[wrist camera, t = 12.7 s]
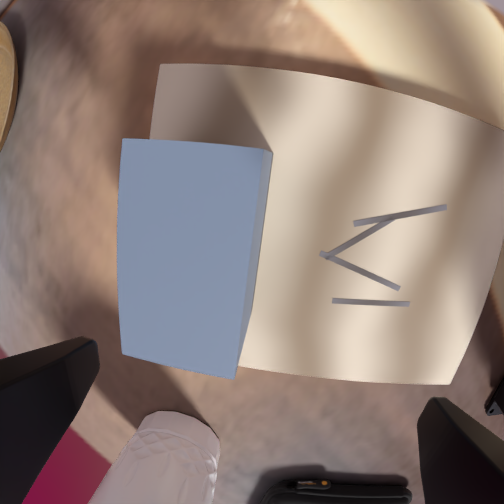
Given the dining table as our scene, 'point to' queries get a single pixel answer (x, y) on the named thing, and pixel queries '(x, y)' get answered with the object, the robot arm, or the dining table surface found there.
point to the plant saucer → (7, 82)
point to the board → (354, 218)
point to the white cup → (164, 464)
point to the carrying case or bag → (334, 493)
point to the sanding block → (189, 250)
